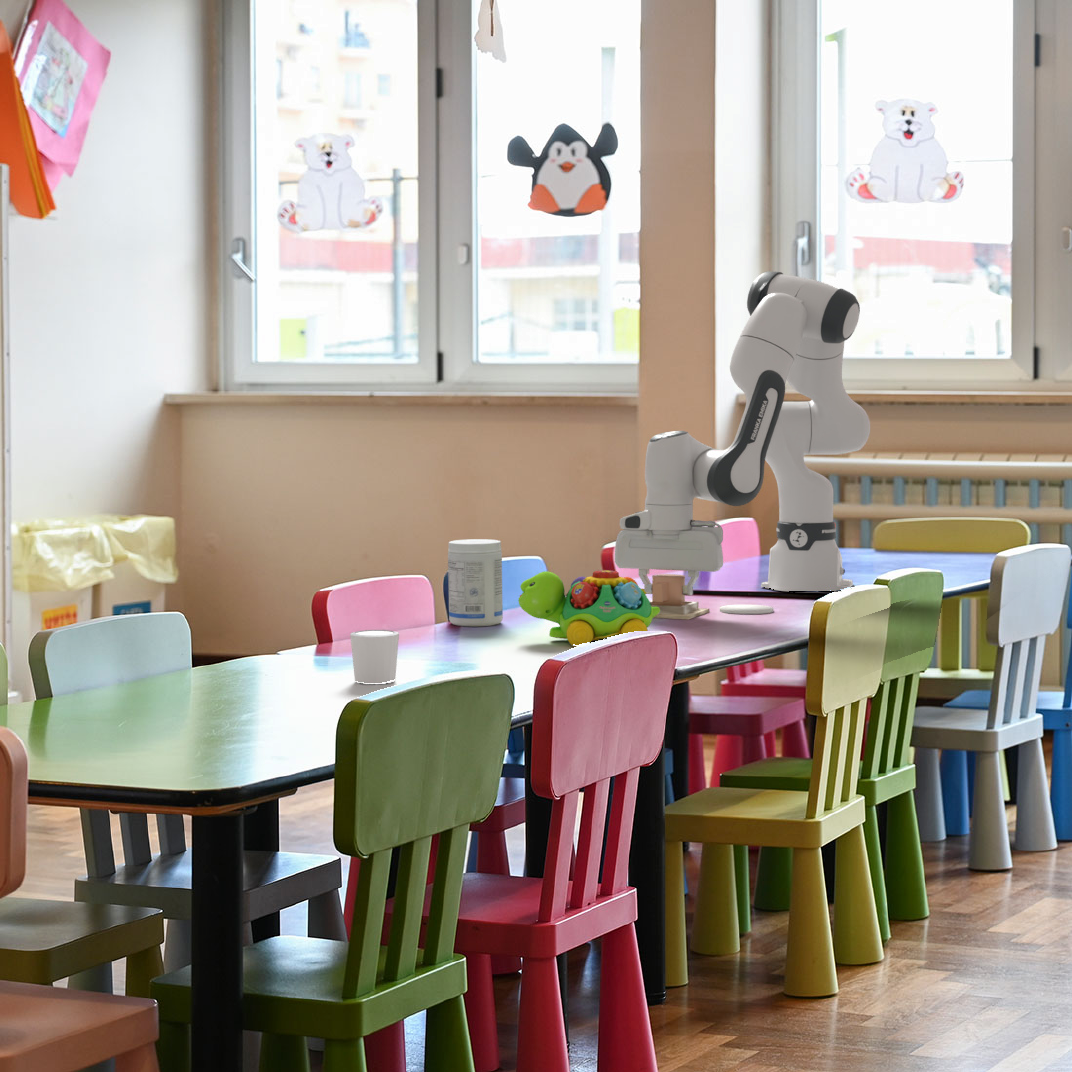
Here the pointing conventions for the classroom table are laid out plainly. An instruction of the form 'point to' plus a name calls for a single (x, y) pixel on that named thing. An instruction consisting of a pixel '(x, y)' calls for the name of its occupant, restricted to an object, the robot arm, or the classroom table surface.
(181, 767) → the classroom table surface
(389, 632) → the white cup
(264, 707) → the classroom table surface
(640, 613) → the turtle toy
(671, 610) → the jug stand
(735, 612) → the coaster
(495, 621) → the supplement tub
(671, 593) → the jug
